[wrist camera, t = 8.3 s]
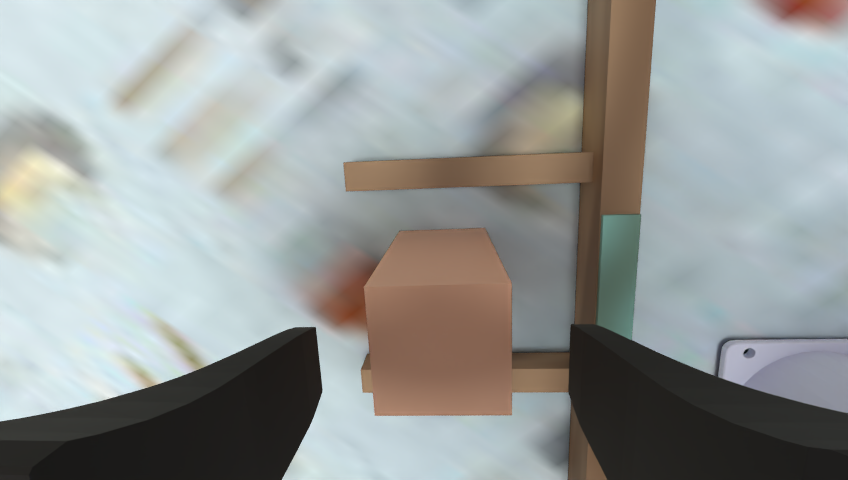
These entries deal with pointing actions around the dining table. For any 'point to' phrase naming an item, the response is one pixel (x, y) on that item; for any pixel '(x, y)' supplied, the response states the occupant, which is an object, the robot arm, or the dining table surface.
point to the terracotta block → (440, 326)
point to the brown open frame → (599, 193)
